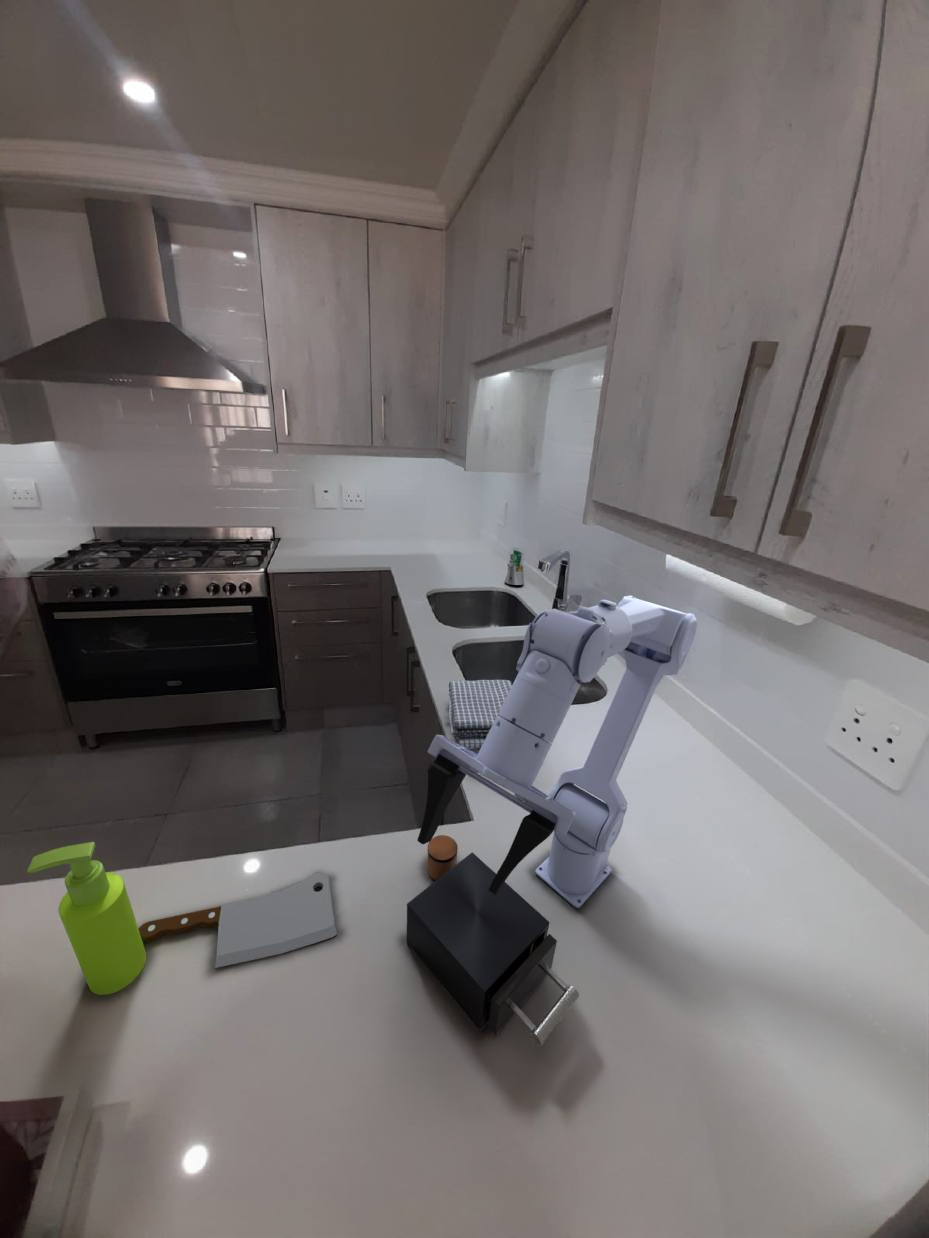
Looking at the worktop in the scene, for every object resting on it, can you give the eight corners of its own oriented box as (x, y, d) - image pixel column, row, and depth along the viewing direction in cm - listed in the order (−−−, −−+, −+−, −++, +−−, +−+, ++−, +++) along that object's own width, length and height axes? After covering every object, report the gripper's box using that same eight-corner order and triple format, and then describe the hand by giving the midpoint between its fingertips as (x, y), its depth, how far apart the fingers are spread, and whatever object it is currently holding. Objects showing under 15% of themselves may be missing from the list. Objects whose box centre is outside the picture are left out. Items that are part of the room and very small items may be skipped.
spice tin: (442, 850, 77) (443, 830, 75) (462, 869, 74) (463, 848, 73) (420, 867, 74) (421, 846, 73) (440, 887, 72) (441, 865, 70)
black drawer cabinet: (542, 960, 63) (549, 922, 60) (479, 1032, 55) (484, 992, 52) (469, 888, 72) (472, 851, 68) (406, 941, 64) (406, 903, 61)
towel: (508, 700, 117) (511, 672, 114) (525, 750, 101) (529, 719, 97) (445, 701, 115) (447, 673, 112) (452, 752, 99) (454, 721, 96)
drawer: (582, 1001, 58) (590, 971, 56) (527, 1075, 51) (533, 1045, 49) (480, 900, 69) (483, 871, 67) (423, 950, 62) (424, 921, 60)
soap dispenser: (85, 955, 60) (39, 838, 52) (150, 937, 63) (115, 822, 55) (70, 1006, 55) (16, 885, 47) (141, 984, 58) (102, 865, 50)
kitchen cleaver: (121, 989, 56) (144, 907, 65) (123, 994, 57) (146, 912, 65) (337, 937, 64) (332, 869, 72) (337, 941, 64) (332, 873, 72)
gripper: (447, 689, 45) (376, 826, 43) (595, 768, 39) (520, 928, 38) (468, 698, 51) (407, 817, 50) (597, 767, 46) (534, 903, 44)
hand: (457, 864), depth 44 cm, fingers open, 7 cm apart
